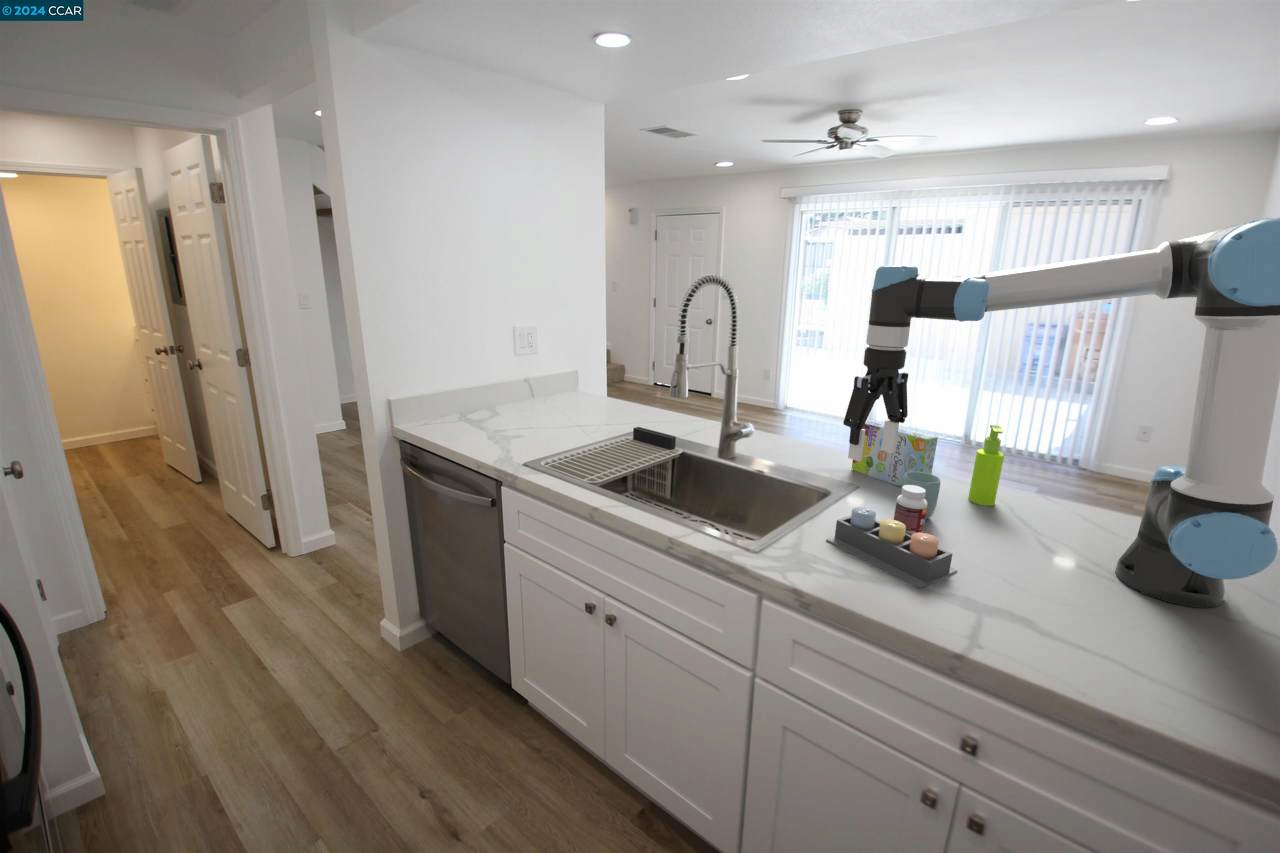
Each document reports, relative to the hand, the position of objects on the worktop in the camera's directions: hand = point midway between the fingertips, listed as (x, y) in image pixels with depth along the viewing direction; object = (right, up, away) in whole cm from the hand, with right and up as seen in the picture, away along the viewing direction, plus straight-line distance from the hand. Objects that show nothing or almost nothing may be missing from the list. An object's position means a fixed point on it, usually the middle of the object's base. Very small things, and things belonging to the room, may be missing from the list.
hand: (871, 455), depth 119 cm
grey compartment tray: (+3, -21, 0) cm, 21 cm away
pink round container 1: (+7, -20, -7) cm, 22 cm away
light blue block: (0, -17, +5) cm, 17 cm away
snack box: (+22, -9, +42) cm, 49 cm away
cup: (+18, -16, +19) cm, 30 cm away
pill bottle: (+11, -18, +9) cm, 23 cm away
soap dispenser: (+39, -14, +28) cm, 50 cm away
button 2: (+3, -18, -1) cm, 19 cm away
